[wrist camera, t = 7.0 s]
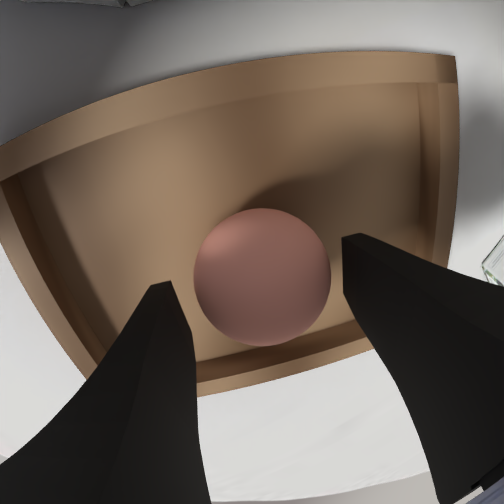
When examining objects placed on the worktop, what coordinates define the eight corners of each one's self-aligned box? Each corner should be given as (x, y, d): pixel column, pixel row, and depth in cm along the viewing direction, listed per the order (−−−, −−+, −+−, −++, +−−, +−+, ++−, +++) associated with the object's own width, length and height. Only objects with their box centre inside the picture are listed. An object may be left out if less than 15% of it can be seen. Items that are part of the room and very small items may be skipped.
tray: (116, 375, 15) (111, 409, 13) (1, 148, 9) (-31, 164, 7) (412, 298, 16) (434, 324, 14) (417, 54, 9) (455, 56, 8)
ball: (206, 306, 12) (224, 390, 9) (174, 209, 10) (177, 278, 7) (307, 275, 12) (354, 346, 9) (294, 177, 10) (355, 227, 7)
